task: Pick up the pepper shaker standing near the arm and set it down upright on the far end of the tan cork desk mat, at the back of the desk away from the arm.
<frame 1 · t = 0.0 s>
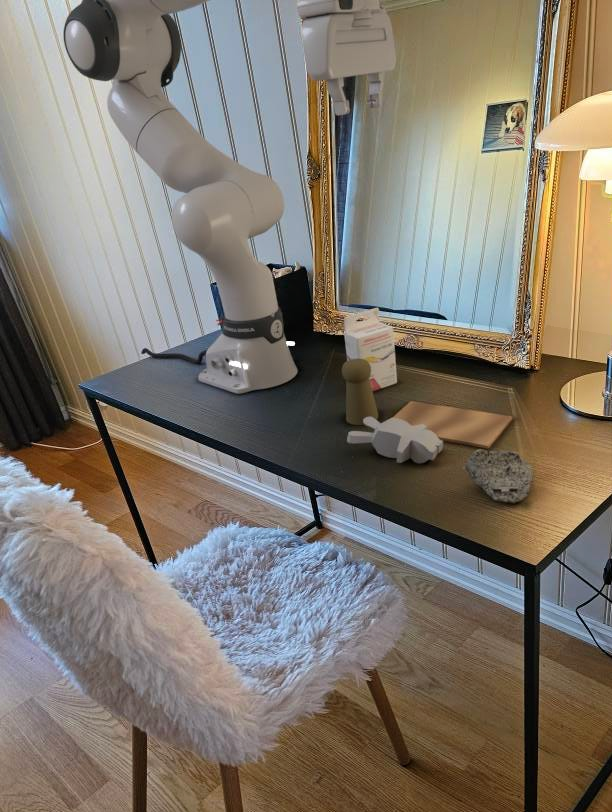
hand: (359, 111, 101), 48 cm above the table, tool pointing down, fingers open, 8 cm apart
rock sample: (507, 490, 96), on the table
ink cartridge box: (374, 386, 132), on the table
bunny figurine: (397, 453, 108), on the table
cork mat: (446, 424, 114), on the table
pepper shaker: (362, 418, 120), on the table
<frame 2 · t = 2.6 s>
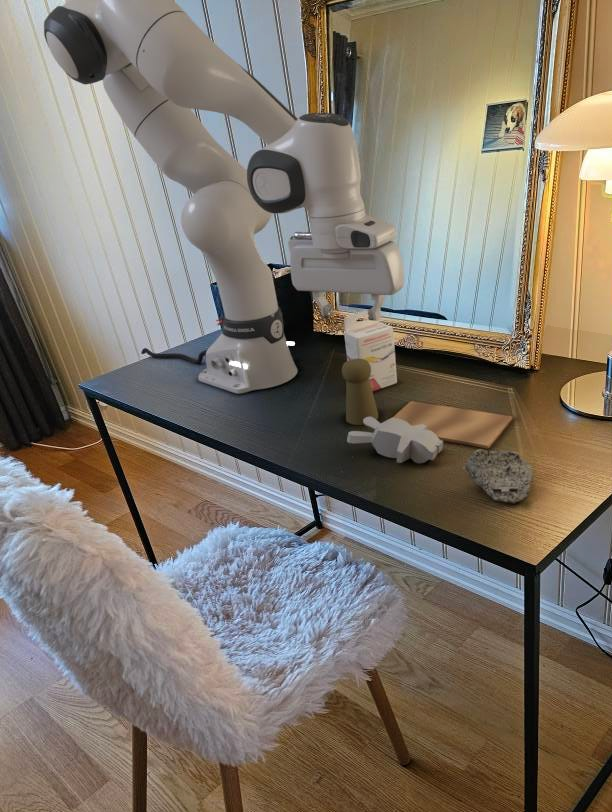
hand: (351, 317, 110), 19 cm above the table, tool pointing down, fingers open, 8 cm apart
nothing on the table moved.
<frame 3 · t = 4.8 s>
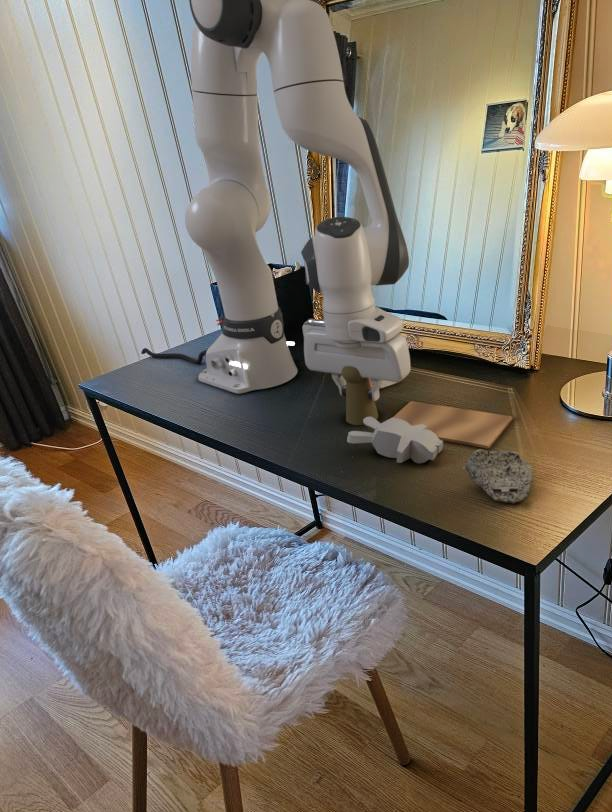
hand: (360, 397, 118), 4 cm above the table, tool pointing down, fingers closed on pepper shaker, 4 cm apart
pepper shaker: (362, 418, 120), on the table, touching gripper
everything else where it was.
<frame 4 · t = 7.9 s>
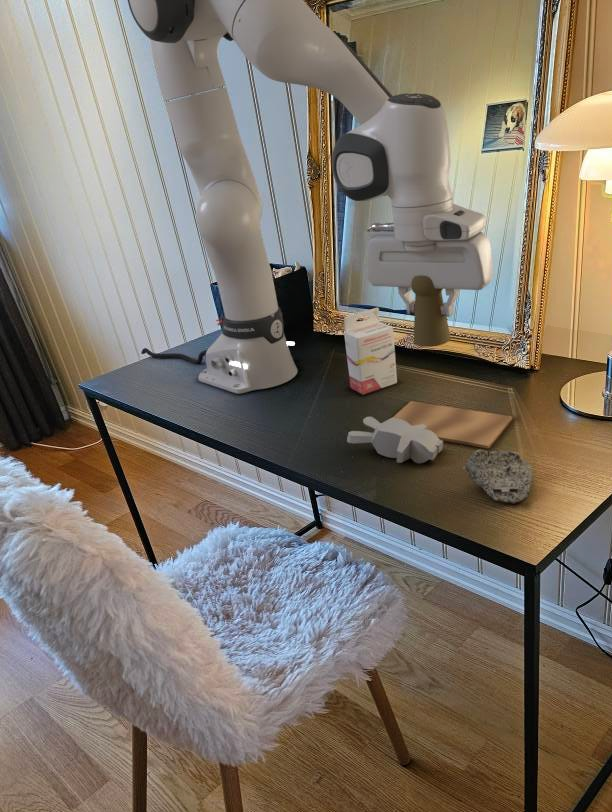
hand: (430, 314, 103), 20 cm above the table, tool pointing down, fingers closed on pepper shaker, 4 cm apart
pepper shaker: (432, 340, 106), point 16 cm above the table, touching gripper
everything else where it was.
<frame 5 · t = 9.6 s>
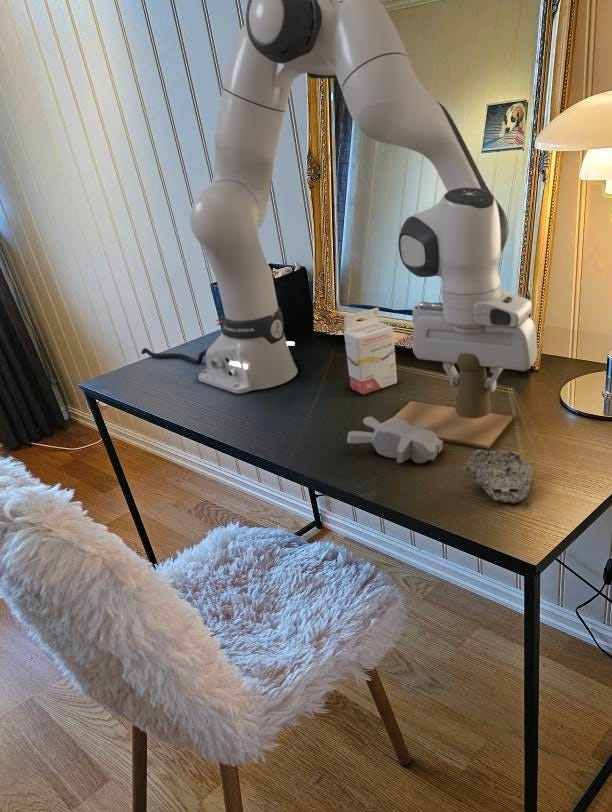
hand: (473, 387, 108), 8 cm above the table, tool pointing down, fingers closed on pepper shaker, 4 cm apart
pepper shaker: (473, 411, 110), point 3 cm above the table, touching gripper
everything else where it was.
when the fingers open (5 cm above the table, at t = 10.9 s): pepper shaker stays where it is, resting on cork mat.
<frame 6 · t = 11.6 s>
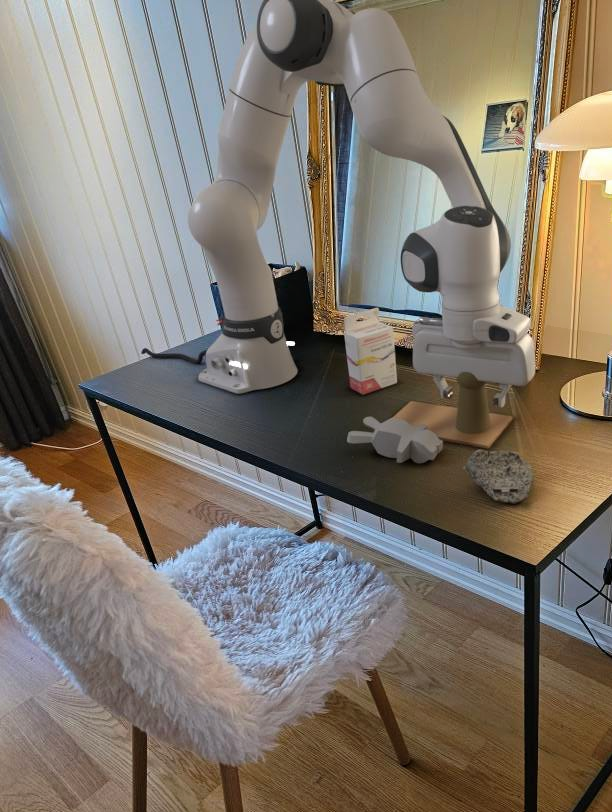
hand: (472, 401, 109), 5 cm above the table, tool pointing down, fingers open, 8 cm apart
pepper shaker: (473, 426, 112), resting on cork mat
everything else where it was.
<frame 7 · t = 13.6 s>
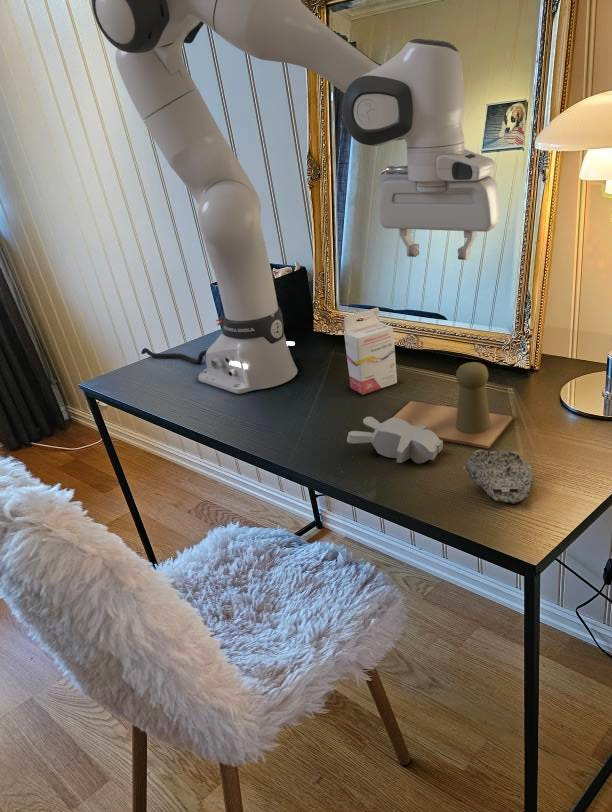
hand: (438, 257, 109), 26 cm above the table, tool pointing down, fingers open, 8 cm apart
nothing on the table moved.
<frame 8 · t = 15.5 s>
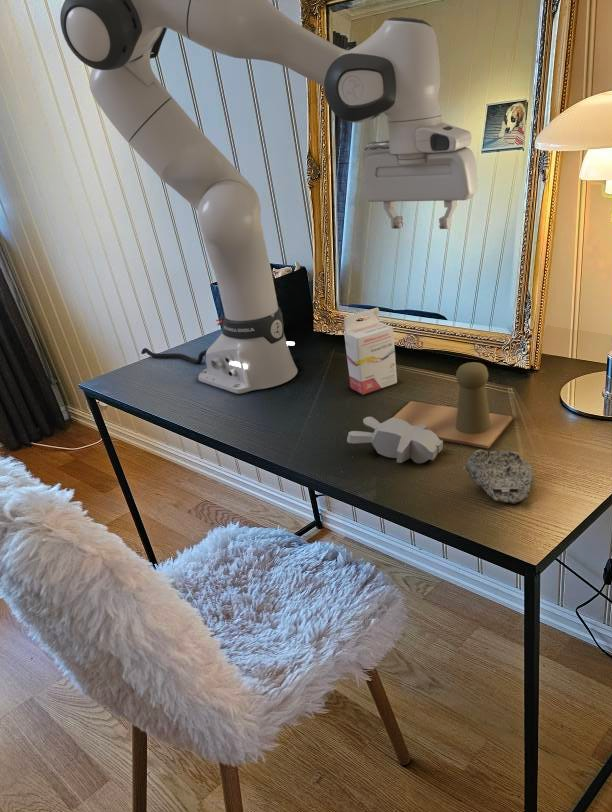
hand: (420, 228, 114), 29 cm above the table, tool pointing down, fingers open, 8 cm apart
nothing on the table moved.
at the end: pepper shaker inside the target area (0.4 cm from its centre), resting on cork mat; pepper shaker tilted 0°; pepper shaker touching cork mat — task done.
